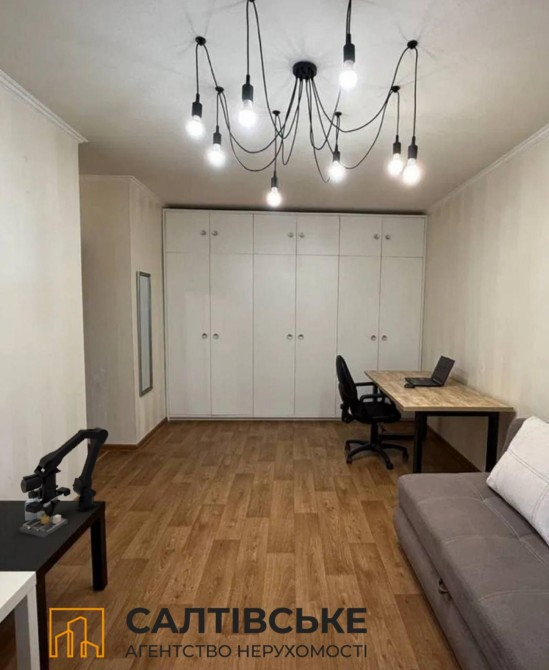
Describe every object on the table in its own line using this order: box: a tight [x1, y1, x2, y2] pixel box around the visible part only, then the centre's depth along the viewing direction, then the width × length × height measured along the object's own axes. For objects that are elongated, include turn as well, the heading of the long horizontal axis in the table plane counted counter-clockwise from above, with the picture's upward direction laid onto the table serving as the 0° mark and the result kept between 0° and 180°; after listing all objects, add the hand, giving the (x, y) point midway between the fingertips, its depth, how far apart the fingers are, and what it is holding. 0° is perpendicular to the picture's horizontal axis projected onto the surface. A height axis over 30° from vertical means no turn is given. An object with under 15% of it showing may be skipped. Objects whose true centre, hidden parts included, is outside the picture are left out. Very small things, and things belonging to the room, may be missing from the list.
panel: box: [19, 513, 68, 538], centre depth 164 cm, size 12×14×2 cm
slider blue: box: [37, 510, 46, 520], centre depth 167 cm, size 3×2×3 cm
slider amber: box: [41, 515, 50, 524], centre depth 164 cm, size 3×2×3 cm
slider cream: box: [53, 514, 62, 524], centre depth 164 cm, size 3×2×3 cm
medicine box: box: [24, 497, 41, 522], centre depth 172 cm, size 8×4×9 cm, turn 21°
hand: (49, 517), depth 166 cm, fingers closed
